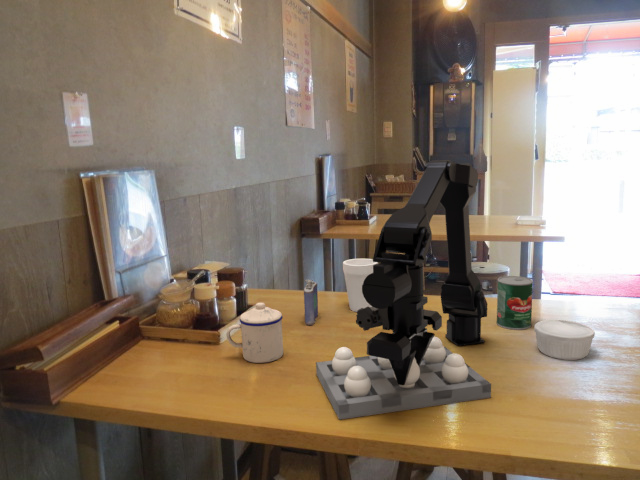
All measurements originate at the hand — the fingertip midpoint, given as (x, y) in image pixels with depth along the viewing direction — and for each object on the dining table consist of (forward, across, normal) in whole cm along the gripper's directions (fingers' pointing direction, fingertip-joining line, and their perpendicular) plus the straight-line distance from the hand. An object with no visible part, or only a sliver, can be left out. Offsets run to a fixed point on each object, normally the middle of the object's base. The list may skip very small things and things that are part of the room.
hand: (407, 379), depth 91 cm
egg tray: (+3, -3, -3) cm, 6 cm away
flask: (+4, -27, -38) cm, 47 cm away
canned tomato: (+4, -46, +8) cm, 47 cm away
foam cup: (+4, -41, -31) cm, 52 cm away
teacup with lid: (+3, -2, -36) cm, 36 cm away
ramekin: (+4, -34, +20) cm, 39 cm away
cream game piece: (+1, 0, 0) cm, 1 cm away
